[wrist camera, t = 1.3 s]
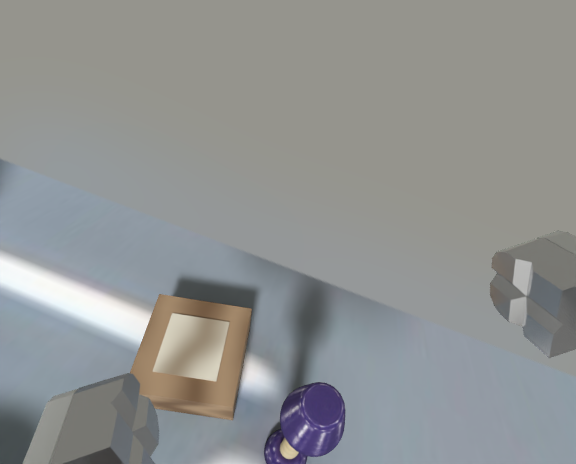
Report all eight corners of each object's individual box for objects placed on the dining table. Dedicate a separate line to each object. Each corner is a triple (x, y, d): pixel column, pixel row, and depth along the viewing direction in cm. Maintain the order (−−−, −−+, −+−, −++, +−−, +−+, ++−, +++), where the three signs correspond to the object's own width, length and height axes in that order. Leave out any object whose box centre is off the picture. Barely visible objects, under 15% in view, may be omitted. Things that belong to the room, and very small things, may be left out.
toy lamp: (282, 414, 39) (309, 355, 26) (321, 443, 38) (369, 396, 25) (255, 459, 36) (269, 417, 23) (295, 491, 35) (335, 467, 22)
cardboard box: (134, 405, 38) (122, 390, 34) (165, 315, 44) (159, 293, 40) (232, 420, 38) (233, 406, 34) (249, 328, 44) (251, 307, 40)
